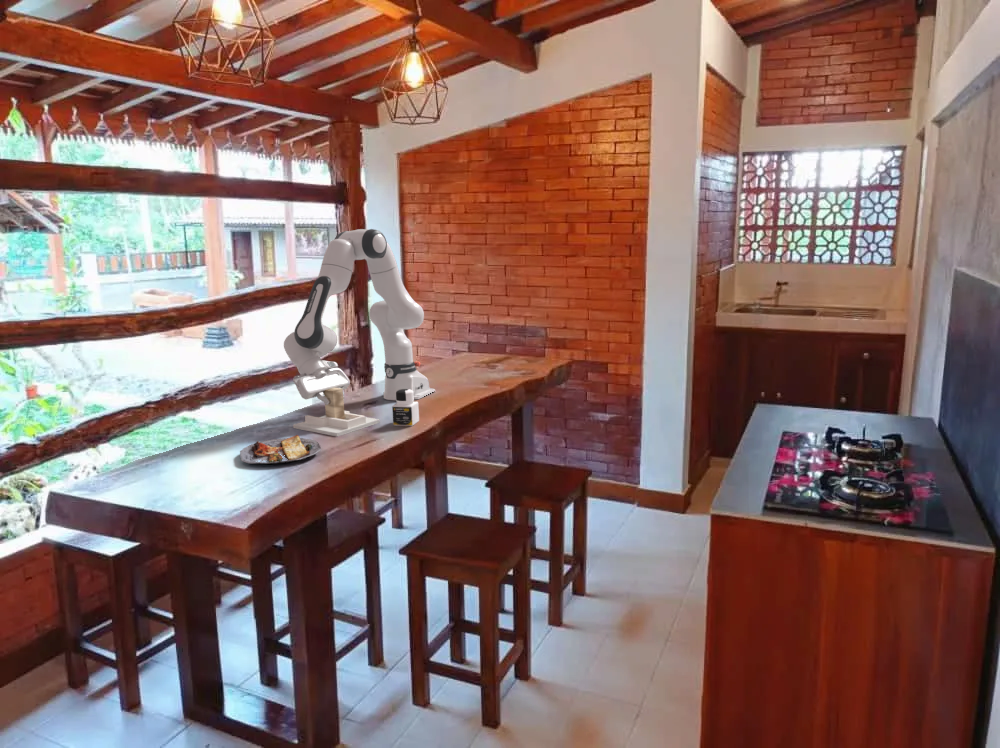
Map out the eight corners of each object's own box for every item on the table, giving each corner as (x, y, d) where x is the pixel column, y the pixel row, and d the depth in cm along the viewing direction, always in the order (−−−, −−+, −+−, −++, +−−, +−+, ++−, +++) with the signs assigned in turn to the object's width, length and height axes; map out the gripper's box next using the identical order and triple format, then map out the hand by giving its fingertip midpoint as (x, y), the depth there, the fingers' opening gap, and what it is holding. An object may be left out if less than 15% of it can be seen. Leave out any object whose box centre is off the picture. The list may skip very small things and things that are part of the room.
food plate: (239, 448, 233) (238, 438, 232) (314, 440, 241) (313, 430, 240) (242, 474, 210) (241, 462, 209) (325, 464, 218) (324, 452, 217)
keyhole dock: (336, 415, 272) (335, 405, 271) (379, 422, 260) (379, 412, 259) (293, 428, 256) (292, 417, 255) (337, 436, 244) (336, 425, 243)
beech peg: (336, 417, 261) (333, 387, 259) (344, 419, 258) (342, 388, 256) (326, 420, 257) (323, 389, 255) (335, 422, 255) (332, 391, 252)
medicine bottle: (393, 425, 255) (390, 392, 253) (400, 420, 262) (398, 387, 260) (412, 426, 253) (410, 392, 251) (419, 421, 260) (417, 387, 258)
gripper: (294, 371, 250) (316, 402, 246) (339, 361, 266) (360, 390, 262) (287, 382, 253) (308, 413, 249) (332, 372, 269) (352, 401, 266)
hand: (335, 401), depth 256 cm, fingers closed on beech peg, 4 cm apart
